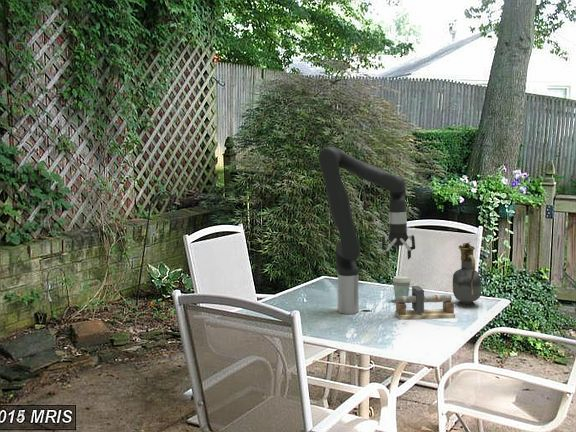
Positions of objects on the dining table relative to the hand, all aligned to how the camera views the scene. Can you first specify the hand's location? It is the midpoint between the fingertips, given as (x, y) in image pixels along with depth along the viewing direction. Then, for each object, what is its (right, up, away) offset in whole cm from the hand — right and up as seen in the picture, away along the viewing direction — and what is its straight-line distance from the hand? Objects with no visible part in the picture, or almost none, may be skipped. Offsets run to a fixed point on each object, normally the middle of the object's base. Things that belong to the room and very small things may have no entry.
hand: (398, 259), depth 267 cm
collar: (+9, -22, +2) cm, 24 cm away
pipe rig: (+12, -25, +2) cm, 28 cm away
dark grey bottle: (+35, -23, +19) cm, 46 cm away
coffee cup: (+7, -23, +29) cm, 37 cm away
